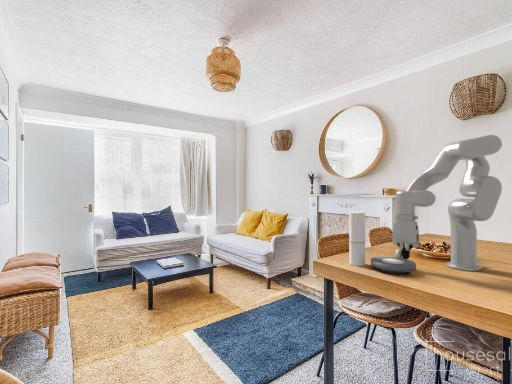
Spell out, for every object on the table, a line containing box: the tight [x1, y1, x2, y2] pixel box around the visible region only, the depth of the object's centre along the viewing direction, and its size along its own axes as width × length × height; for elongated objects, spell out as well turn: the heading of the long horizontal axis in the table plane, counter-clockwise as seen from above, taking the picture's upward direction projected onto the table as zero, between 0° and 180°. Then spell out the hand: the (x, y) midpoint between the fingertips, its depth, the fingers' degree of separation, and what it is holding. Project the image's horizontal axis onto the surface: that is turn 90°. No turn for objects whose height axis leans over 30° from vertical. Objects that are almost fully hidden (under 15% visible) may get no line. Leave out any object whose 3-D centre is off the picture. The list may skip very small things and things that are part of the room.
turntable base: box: [377, 268, 409, 275], centre depth 120 cm, size 12×12×2 cm
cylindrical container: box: [348, 211, 366, 267], centre depth 130 cm, size 7×7×25 cm
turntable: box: [370, 248, 417, 273], centre depth 120 cm, size 18×18×6 cm
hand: (405, 258), depth 122 cm, fingers closed
